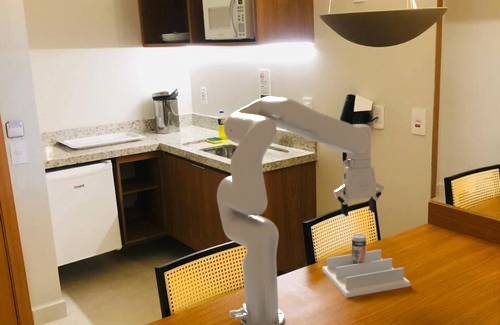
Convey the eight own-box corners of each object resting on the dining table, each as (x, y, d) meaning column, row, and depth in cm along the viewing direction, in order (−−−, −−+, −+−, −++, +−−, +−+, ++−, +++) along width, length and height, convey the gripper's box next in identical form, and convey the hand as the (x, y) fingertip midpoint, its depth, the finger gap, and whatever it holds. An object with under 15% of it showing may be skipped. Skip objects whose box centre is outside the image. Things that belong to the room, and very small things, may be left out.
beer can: (349, 270, 176) (349, 237, 173) (354, 265, 180) (354, 232, 177) (363, 273, 173) (363, 239, 170) (368, 268, 177) (368, 234, 174)
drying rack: (346, 297, 162) (345, 281, 160) (322, 270, 180) (321, 256, 179) (410, 286, 166) (410, 270, 165) (380, 261, 185) (380, 246, 184)
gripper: (338, 168, 162) (338, 220, 166) (389, 162, 166) (388, 213, 170) (329, 163, 169) (329, 212, 173) (377, 157, 173) (377, 206, 177)
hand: (358, 213), depth 172 cm, fingers open, 9 cm apart
